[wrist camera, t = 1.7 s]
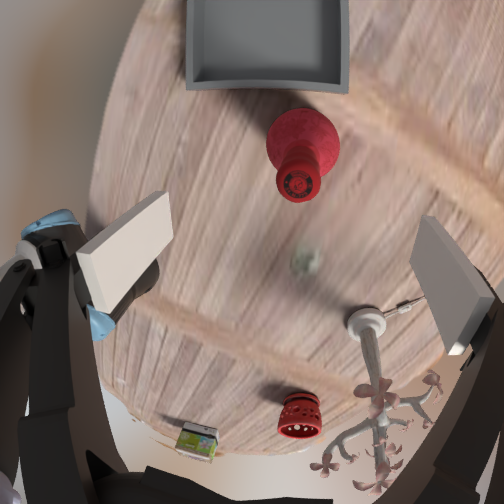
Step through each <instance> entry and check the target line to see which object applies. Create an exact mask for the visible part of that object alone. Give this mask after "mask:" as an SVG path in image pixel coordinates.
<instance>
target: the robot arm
mask: <svg viewBox="0 0 504 504" xmlns="http://www.w3.org/2000/svg"><path fill="white" fill-rule="evenodd" d="M21 238H22V240H21V241H19V242H18V244H17V246H16V253H15V256H13V257H12V258H11V259H10V260H8V261H7V262H6V263H5V264H4V265H2V266H1V267H0V504H21V497H20V495H19V493H18V492H17V491H16V490H14V489H13V485H14V482H15V478H16V473H17V468H18V462H19V456H20V464H21V472H22V478H23V484H24V490H25V494H26V499H27V504H333V499H308V498H292V497H282V498H273V499H262V500H247V501H235V500H231V499H228V498H226V497H224V496H222V495H220V494H217V493H215V492H213V491H211V490H209V489H207V488H205V487H203V486H201V485H199V484H197V483H195V482H194V481H192V480H190V479H187V478H184V477H180V476H177V475H174V474H171V473H167V472H165V471H162V470H159V469H156V468H153V467H150V466H147V467H146V469H145V472H129V471H128V469H127V467H126V465H125V464H124V462H123V460H122V458H121V457H120V455H119V453H118V451H117V449H116V446H115V442H114V439H113V436H112V432H111V429H110V425H109V421H108V417H107V414H106V409H105V405H104V401H103V396H102V392H101V387H100V382H99V377H98V372H97V366H96V360H95V354H94V347H93V341H100V340H103V339H104V338H106V336H107V335H108V334H109V333H110V332H111V331H112V330H113V329H114V328H115V325H116V324H117V323H118V321H119V320H120V318H121V317H122V316H123V314H124V313H125V312H126V310H127V309H128V307H129V306H130V305H131V303H132V302H133V301H134V299H136V298H138V297H140V296H141V295H143V294H144V293H147V292H148V291H150V290H151V289H152V288H153V287H154V285H155V284H156V282H157V281H158V278H159V266H158V262H157V260H156V257H157V256H158V255H159V253H160V252H161V251H162V250H163V249H164V248H165V247H166V245H167V244H168V243H169V242H170V241H171V240H172V239H173V230H172V222H171V214H170V205H169V195H168V191H155V192H153V193H152V194H151V195H149V196H148V197H146V198H145V199H144V200H142V201H141V202H139V203H138V204H137V205H135V206H134V207H132V208H131V209H130V210H128V211H127V212H126V213H124V214H123V215H122V216H120V217H119V218H118V219H116V220H115V221H114V222H113V223H111V224H110V225H109V226H107V227H106V228H105V229H104V230H102V231H101V232H100V233H98V234H96V235H95V236H94V237H93V238H91V240H89V241H88V240H87V239H86V237H85V235H84V233H83V231H82V230H81V228H80V224H79V223H78V222H77V220H76V219H75V217H74V215H73V213H72V212H71V211H70V210H67V209H61V210H58V211H55V212H53V213H50V214H48V215H46V216H44V217H42V218H41V219H39V220H37V221H36V222H34V223H32V224H30V225H29V226H27V227H26V228H24V229H23V230H22V232H21ZM409 262H410V264H411V266H412V268H413V271H414V273H415V275H416V277H417V279H418V281H419V284H420V286H421V288H422V290H423V293H424V295H425V297H426V300H427V302H428V304H429V307H430V309H431V312H432V314H433V316H434V319H435V322H436V324H437V327H438V329H439V332H440V335H441V337H442V340H443V343H444V346H445V349H446V351H447V355H461V354H463V353H464V352H465V350H466V348H467V347H468V345H469V344H471V346H472V349H473V351H472V353H471V354H470V356H469V357H468V359H467V360H466V362H465V363H464V364H463V366H462V367H461V369H460V371H462V370H463V371H462V373H461V375H460V377H459V379H458V381H457V383H456V386H455V388H454V389H453V391H452V393H451V395H450V397H449V399H448V401H447V403H446V405H445V406H444V408H443V410H442V412H441V413H440V415H439V417H438V419H437V420H436V422H435V424H434V425H433V427H432V429H431V430H430V432H429V433H428V435H427V437H426V438H425V440H424V441H423V443H422V444H421V446H420V447H419V449H418V450H417V451H416V453H415V454H414V456H413V458H412V459H411V460H410V461H409V463H408V464H407V465H406V467H405V468H404V469H403V471H402V472H401V473H400V474H399V476H398V477H397V478H396V480H395V481H394V482H393V483H392V484H391V486H390V487H389V488H388V489H387V490H386V492H385V493H384V494H383V495H382V496H381V497H380V498H378V500H376V501H375V502H374V503H372V504H478V503H479V501H480V494H479V493H477V492H476V491H475V490H476V486H477V483H478V481H479V479H480V477H481V475H482V473H483V471H484V469H485V467H486V464H487V462H488V460H489V457H490V455H491V453H492V450H493V448H494V445H495V443H496V440H497V437H498V435H499V432H500V437H499V444H498V449H497V454H496V460H495V464H494V469H493V473H492V477H491V481H490V485H489V489H488V492H487V496H486V500H485V502H484V504H504V303H502V302H501V300H500V299H499V297H498V296H497V294H496V293H495V291H494V290H493V288H492V287H490V286H491V285H490V284H489V282H488V281H486V280H487V279H486V278H485V277H484V275H483V274H482V272H481V271H479V270H478V269H477V268H476V267H475V266H474V265H473V264H472V263H471V262H470V260H469V259H468V258H467V256H466V255H465V254H464V252H463V251H462V250H461V248H460V247H459V246H458V245H457V243H456V242H455V241H454V239H453V238H452V237H451V236H450V235H449V233H448V232H447V231H446V230H445V228H444V227H443V226H442V225H441V224H440V223H439V221H438V220H437V219H436V218H435V217H433V216H427V215H422V217H421V221H420V225H419V229H418V233H417V237H416V240H415V244H414V247H413V251H412V254H411V258H410V261H409ZM24 311H25V312H24ZM23 312H24V314H22V313H23ZM28 396H29V415H28V416H25V411H26V406H27V401H28Z"/></svg>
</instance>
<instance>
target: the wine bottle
mask: <svg viewBox="0 0 504 504" xmlns="http://www.w3.org/2000/svg"><path fill="white" fill-rule="evenodd" d="M266 148H267V153H268V156H269V159H270V161H271V163H272V164H273V166H274V167H275V168H276V169H277V170H278V172H277V175H276V184H277V188H278V190H279V192H280V194H281V195H282V196H283V197H285V198H286V199H287V200H289V201H291V202H295V203H300V202H304V201H308V200H311V199H312V198H314V197H315V196H316V195H317V193H318V192H319V189H320V185H321V177H322V176H324V175H325V174H327V173H328V172H329V171H330V170H331V169H332V167H333V166H334V165H335V163H336V161H337V158H338V155H339V150H340V142H339V137H338V133H337V131H336V129H335V127H334V125H333V124H332V123H331V121H330V120H329V119H328V118H327V117H325V116H324V115H323V114H321V113H320V112H318V111H315V110H312V109H308V108H297V109H292V110H290V111H287V112H285V113H283V114H282V115H281V116H279V117H278V118H277V119H276V120H275V121H274V122H273V124H272V125H271V127H270V129H269V132H268V135H267V140H266Z"/></svg>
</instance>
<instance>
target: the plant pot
mask: <svg viewBox="0 0 504 504" xmlns="http://www.w3.org/2000/svg"><path fill="white" fill-rule="evenodd" d="M283 406H284V408H283V410H282V412H281V414H280V418H279V422H278V432H279V433H280V434H281V435H283V436H286V437H289V438H295V439H306V438H312V437H315V436H317V435H319V434H320V433H321V427H322V420H321V413H320V410H319V408H318V407H319V406H320V402H319V400H318V399H317V398H316V397H315V396H313V395H310V394H305V393H297V394H293V395H290V396H288V397H287V398H285V400H284V401H283ZM296 424H297V425H299V426H300V429H299V430H296V429H295V428H294V426H295V425H296ZM303 425H305V426H303ZM284 426H286V427H284ZM289 427H290V428H291V430H289V429H288V428H289ZM304 428H308V429H307V430H306V431H304ZM312 428H313V430H312Z"/></svg>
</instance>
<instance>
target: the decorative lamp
mask: <svg viewBox="0 0 504 504" xmlns="http://www.w3.org/2000/svg"><path fill="white" fill-rule="evenodd" d="M424 299H426V297H425V298H424ZM424 299H421V300H418V301H416V302H415V303H413V304H410V303H407V304H405V305H403V306H400V307H398V310H399V311H397V312H394V313H391V314H389V315H388V316H386V317H384V314H383V313H382V312H381V311H380V310H378V309H375V308H364V309H361V310H358V311H356V312H355V313H353V314H352V315H351V316H350V318H349V319H348V322H347V329H348V334H349V336H350V337H351V338H352V339H354V340H356V341H361V347H362V352H363V357H364V360H365V363H366V366H367V370H368V373H369V376H370V381H371V385H369V384H360V385H358V386H357V387H356V388H355V390H354V392H353V393H354V395H355V396H356V397H360V398H366V397H371V404H370V406H369V409H368V413H367V415H368V417H367V418H366V419H365V420H364V421H363V422H361V423H360V424H358V425H357V426H355V427H353V428H350V429H348V430H346V431H344V432H342V433H341V434H340V435H339V436H337V438H336V439H335V440H334V441H333V442H332V443H331V444H329V446H328V447H327V448H326V450H325V451H324V453H323V457H322V463H323V464H317V463H311V464H310V468H311V469H312V470H319V469H321V468H323V467H324V468H323V470H322V472H321V475H320V477H321V478H326V477H328V476H329V469H328V468H330V469H332V470H334V471H337V470H338V469H339V467H340V464H339V463H330V461H331V459H332V453H333V452H334V451H335V450H336V449H337V448H338V447H339V450H340V453H341V456H342V457H343V458H344V459H346V460H350V463H346V464H351V463H353V462H354V461H355V460H356V459H357V458H359V456H358V457H357V456H356V455H354V454H353V455H352V456H350V455H348V453H347V452H346V451H345V448H344V444H345V442H346V441H348V440H350V439H351V438H354V437H356V436H358V435H360V434H361V433H363V432H364V431H366V430H368V429H371V428H372V429H373V441H374V445H372V446H373V447H374V456H371V455H370V454H369V453H368V452H367V450H366V453H367V454H368V455H369V456H371V457H375V463H376V464H375V469H376V482H374V483H367V484H365V483H362V482H357V481H354V480H353V484H354V486H355V488H356V489H358V490H361V491H364V490H367V489H369V488H371V487H373V486H374V485H375V486H374V487H373V489H372V491H371V492H370V494H368V495H380V494H381V486H383V487H385V488H387V489H388V488H389V487H390V486H391V484H392V483H393V482H394V481H395V480H396V478H395V479H394V480H385V479H386V478H387V477H388V475H389V473H395V471H391V469H396V470H397V469H398V468H400V467H401V466H402V462H403V459H402V460H401V461H400V462H398V463H397V464H395V465H394V466H392V467H390V461H389V458H388V457H387V456H390V457H392V456H393V455H395V454H398V453H399V452H401V450H402V445H401V446H400V447H399V449H398V450H397V451H396V452H395V449H396V447H395V444H394V443H391V444H390V445H389V446H388V447H387V448H386V441H387V439H386V431H387V428H388V427H390V426H392V425H404V426H407V429H408V428H409V427H410V426H412V424H413V423H412V422H411V421H410V420H408V421H407V422H406V421H404V420H400V419H391V418H389V417H388V416H387V414H386V411H388V410H390V409H392V408H394V409H395V410H396V409H397V407H400V406H412V407H413V409H414V411H415V412H417V413H418V414H419V415H420V416H422V417H423V418H425V420H424V422H423V423H424V424H423V428H424V429H426V428H428V426H429V425H430V426H429V427H431V426H432V425H434V424H435V422H434V423H433V422H432V421H431V420H430V418H429V417H428V416H427V414H426V413H425V412H424V410H423V409H422V408H421V406H420V405H421V404H422V403H423V402H425V401H426V400H427V399H428V398H429V396H430V394H431V392H432V390H433V387H434V386H435V385H437V387H438V389H439V392H438V394H437V396H436V400H435V401H434V403H433V404H436V403H438V402H439V401H440V400H441V398H442V395H443V391H442V389H441V383H439V380H440V376H439V375H438V374H436V373H435V372H434V371H433V370H428V371H427V372H428V373H435V374H429V375H427V376H426V377H425V378H424V379H423V380H422V381H423V382H424V383H426V384H428V385H432V386H431V387H430V389H429V390H428V392H427V393H426V394H424V395H422V396H418V397H408V398H399V396H398V395H397V394H395V393H390V392H386V391H387V390H388V388H389V387H390V385H391V384H392V380H391V379H384V378H382V371H381V361H380V353H379V346H378V341H377V338H378V337H379V336H381V335H382V334H383V332H384V331H385V329H386V321H385V319H387V318H389V317H390V316H392V315H394V314H396V313H398V312H399V313H400V314H401V313H404V312H406V311H409V310H411V309H412V307H411V306H413V305H415V304H417V303H418V302H420V301H422V300H424ZM383 398H384V399H386V400H387V402H384V399H383ZM412 421H414V420H413V419H412ZM428 421H429V422H431V423H432V424H430V423H429V422H428ZM407 429H403V430H400V431H401V432H405V431H406V430H407ZM387 438H388V436H387ZM385 448H386V450H385ZM386 455H387V456H386ZM329 463H330V464H329ZM390 468H391V469H390Z"/></svg>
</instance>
